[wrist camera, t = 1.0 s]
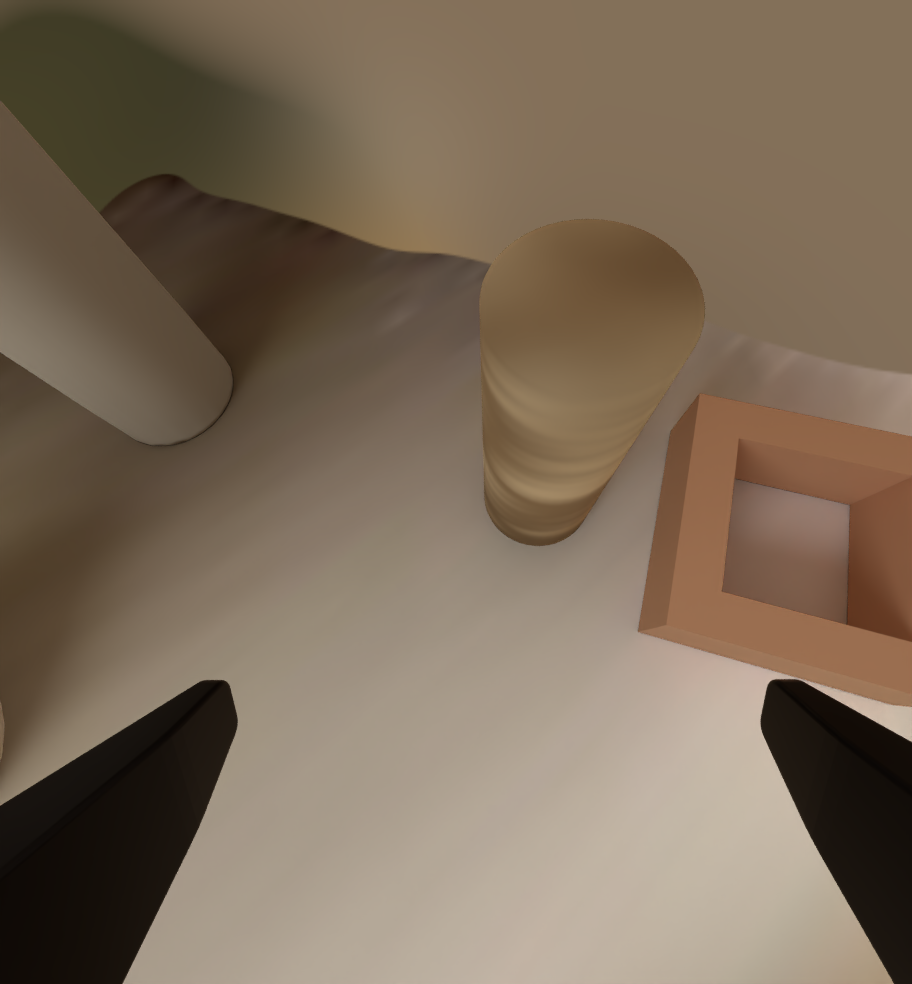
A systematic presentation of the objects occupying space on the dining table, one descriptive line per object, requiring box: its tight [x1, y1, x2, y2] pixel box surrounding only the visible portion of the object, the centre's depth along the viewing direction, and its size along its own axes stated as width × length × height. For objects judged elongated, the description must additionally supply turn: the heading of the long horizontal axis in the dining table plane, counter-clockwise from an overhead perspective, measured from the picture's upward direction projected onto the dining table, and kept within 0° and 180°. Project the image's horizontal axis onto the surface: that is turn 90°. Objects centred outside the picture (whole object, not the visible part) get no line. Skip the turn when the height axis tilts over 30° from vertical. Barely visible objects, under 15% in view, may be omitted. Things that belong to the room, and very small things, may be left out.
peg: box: [480, 219, 705, 546], centre depth 17 cm, size 5×5×13 cm
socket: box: [638, 393, 912, 707], centre depth 20 cm, size 10×10×4 cm
